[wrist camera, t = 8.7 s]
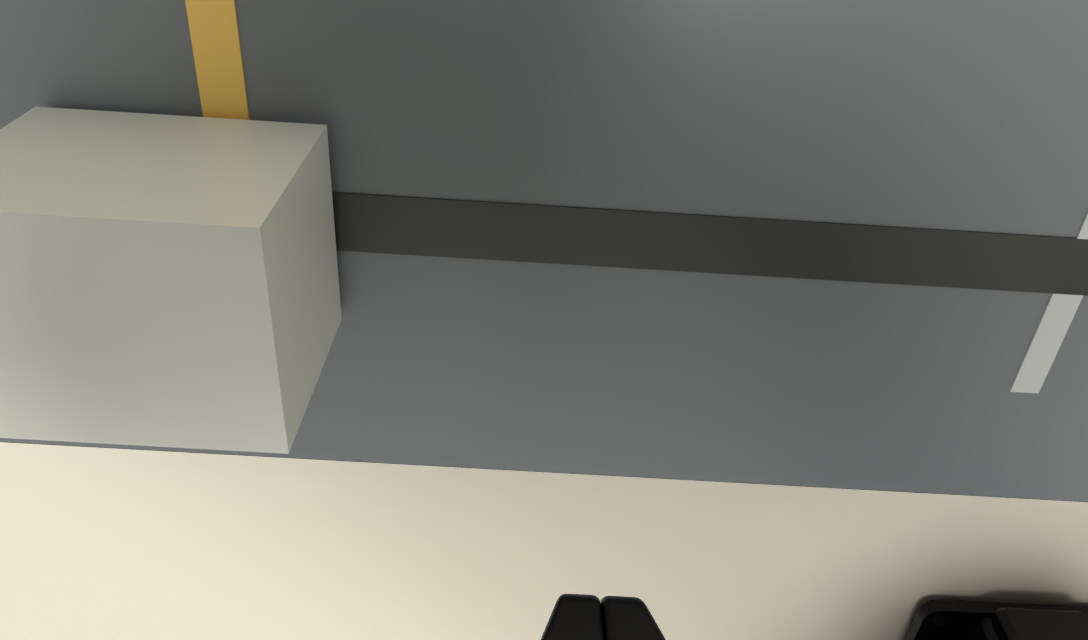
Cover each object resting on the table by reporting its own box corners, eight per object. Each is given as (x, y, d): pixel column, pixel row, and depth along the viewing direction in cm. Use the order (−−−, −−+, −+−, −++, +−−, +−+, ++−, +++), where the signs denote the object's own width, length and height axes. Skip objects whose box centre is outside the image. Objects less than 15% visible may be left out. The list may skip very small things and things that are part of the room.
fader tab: (341, 319, 17) (288, 453, 14) (87, 304, 17) (-29, 436, 14) (327, 124, 15) (259, 226, 12) (35, 106, 15) (-119, 205, 12)
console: (1120, 424, 22) (1192, 509, 20) (29, 362, 22) (-42, 441, 19) (1389, -80, 16) (1548, -51, 14) (-145, -186, 16) (-283, -177, 13)
